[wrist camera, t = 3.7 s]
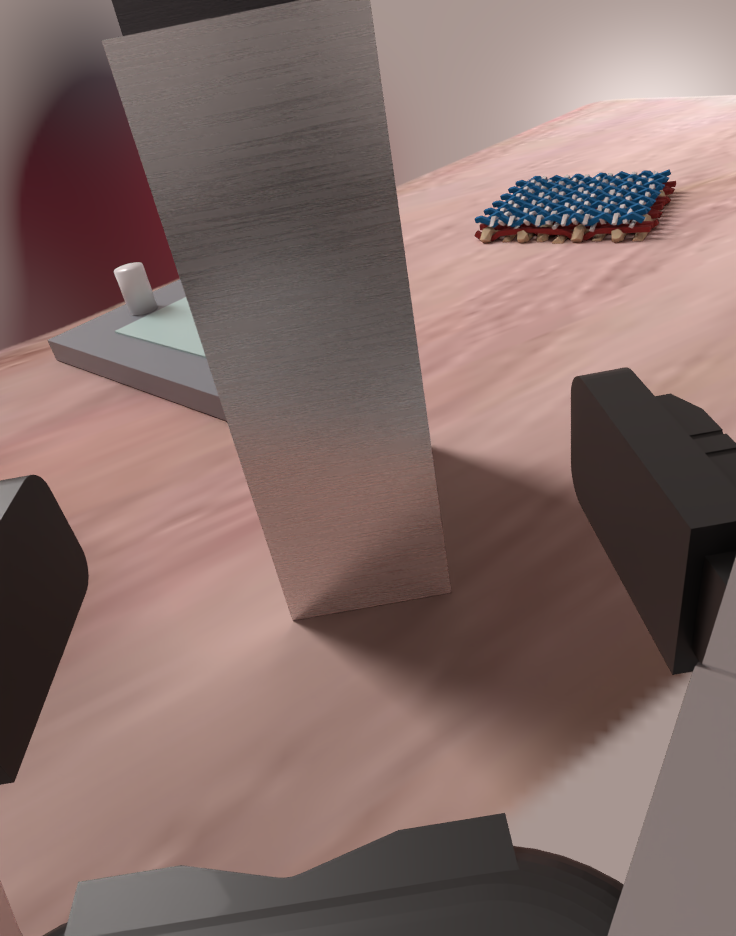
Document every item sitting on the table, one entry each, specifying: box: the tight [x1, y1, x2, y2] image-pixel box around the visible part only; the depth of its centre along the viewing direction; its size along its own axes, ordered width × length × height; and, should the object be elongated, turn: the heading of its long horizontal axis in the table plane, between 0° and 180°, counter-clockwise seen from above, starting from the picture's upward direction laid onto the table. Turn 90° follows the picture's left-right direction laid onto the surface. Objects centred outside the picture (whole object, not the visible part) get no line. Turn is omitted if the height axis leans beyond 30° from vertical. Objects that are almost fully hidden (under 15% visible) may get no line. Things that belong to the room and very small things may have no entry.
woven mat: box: [475, 170, 676, 244], centre depth 44 cm, size 10×11×2 cm
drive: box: [102, 0, 451, 620], centre depth 18 cm, size 4×8×15 cm, turn 4°
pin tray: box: [48, 262, 227, 421], centre depth 36 cm, size 16×10×4 cm, turn 49°
